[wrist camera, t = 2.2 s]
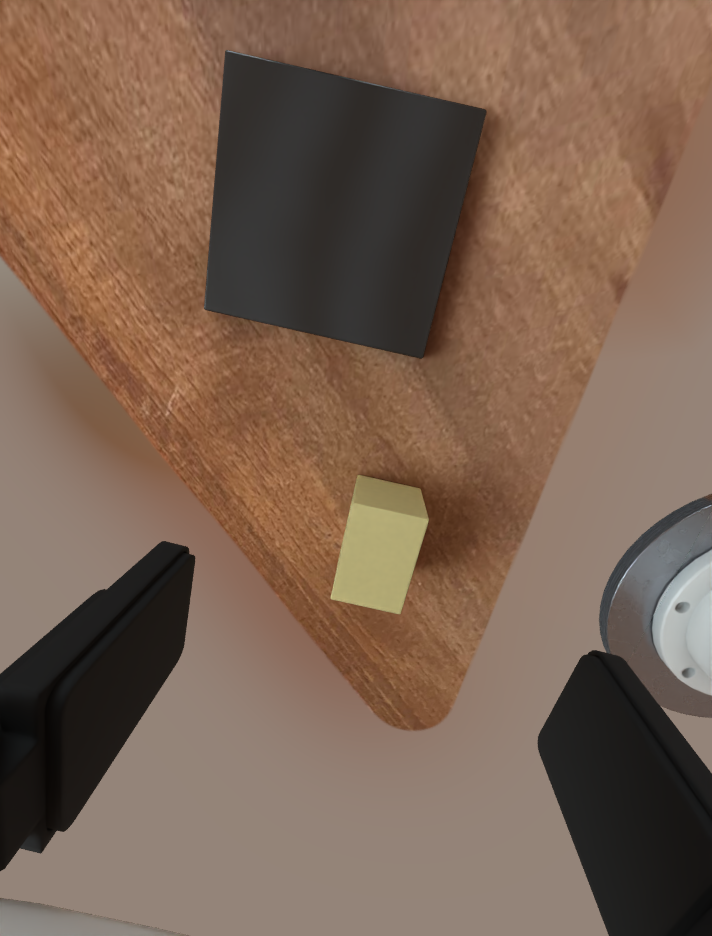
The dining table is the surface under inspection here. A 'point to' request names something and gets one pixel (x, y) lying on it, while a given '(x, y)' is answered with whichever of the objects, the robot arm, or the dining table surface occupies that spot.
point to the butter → (380, 544)
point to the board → (335, 203)
